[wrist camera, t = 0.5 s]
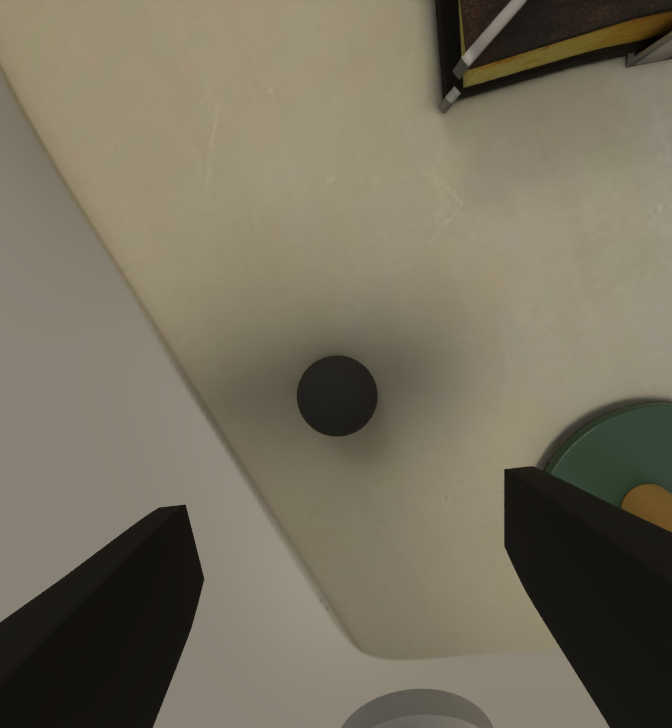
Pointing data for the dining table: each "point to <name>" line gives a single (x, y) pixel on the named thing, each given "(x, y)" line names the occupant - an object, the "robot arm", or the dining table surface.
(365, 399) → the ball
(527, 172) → the dining table surface
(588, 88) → the dining table surface
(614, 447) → the lid
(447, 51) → the book
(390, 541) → the dining table surface
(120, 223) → the dining table surface
